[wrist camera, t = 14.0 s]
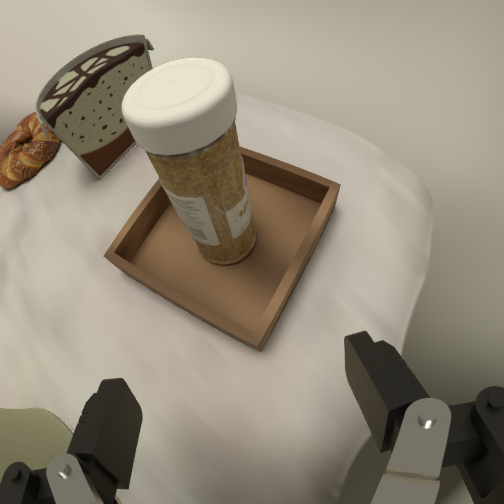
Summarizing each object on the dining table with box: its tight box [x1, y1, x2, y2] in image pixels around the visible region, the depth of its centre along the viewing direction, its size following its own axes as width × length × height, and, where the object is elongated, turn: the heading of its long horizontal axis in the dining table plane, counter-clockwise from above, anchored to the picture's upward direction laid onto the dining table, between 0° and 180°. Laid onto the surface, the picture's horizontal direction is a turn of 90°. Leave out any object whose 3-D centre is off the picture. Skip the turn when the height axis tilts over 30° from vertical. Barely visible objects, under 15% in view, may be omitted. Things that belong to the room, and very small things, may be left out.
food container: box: [36, 35, 154, 180], centre depth 25 cm, size 12×6×10 cm, turn 144°
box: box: [104, 147, 340, 352], centre depth 22 cm, size 12×12×3 cm
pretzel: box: [0, 112, 61, 189], centre depth 29 cm, size 12×11×4 cm
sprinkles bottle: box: [122, 58, 256, 265], centre depth 17 cm, size 5×5×14 cm
